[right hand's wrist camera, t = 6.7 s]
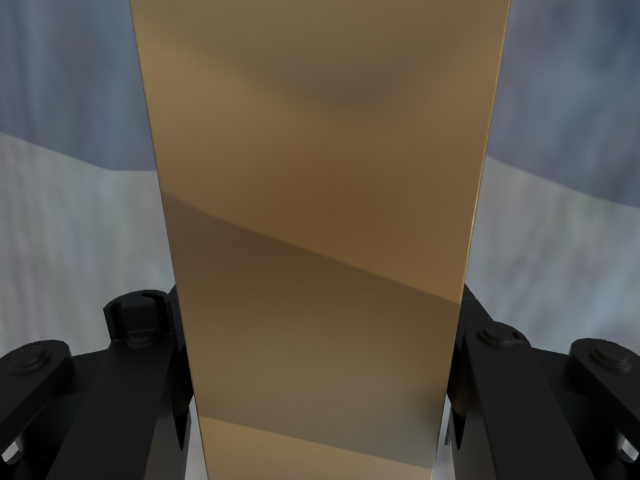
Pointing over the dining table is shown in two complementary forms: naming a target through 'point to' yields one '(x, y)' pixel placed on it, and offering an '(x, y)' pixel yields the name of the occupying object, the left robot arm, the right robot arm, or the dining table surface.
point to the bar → (319, 219)
